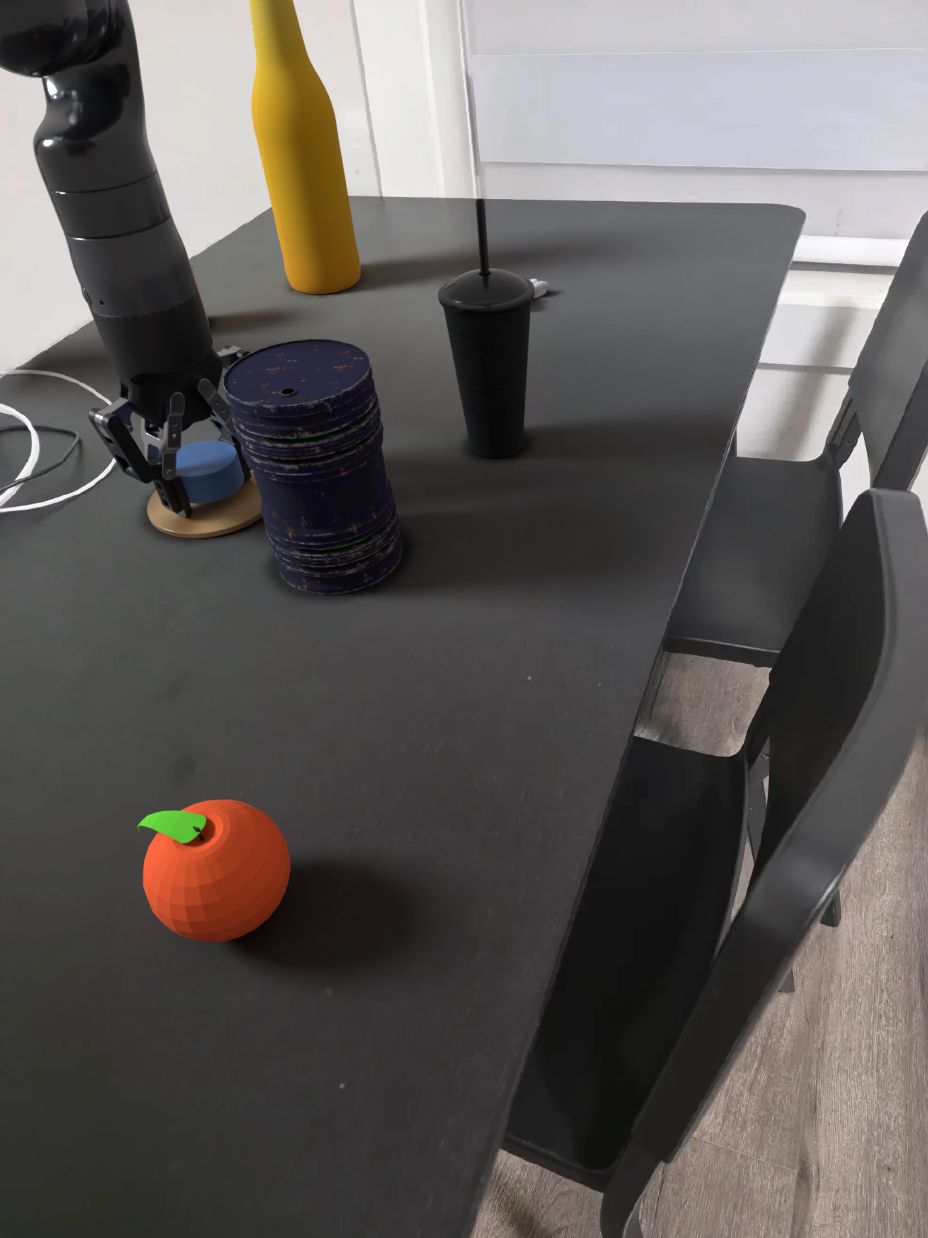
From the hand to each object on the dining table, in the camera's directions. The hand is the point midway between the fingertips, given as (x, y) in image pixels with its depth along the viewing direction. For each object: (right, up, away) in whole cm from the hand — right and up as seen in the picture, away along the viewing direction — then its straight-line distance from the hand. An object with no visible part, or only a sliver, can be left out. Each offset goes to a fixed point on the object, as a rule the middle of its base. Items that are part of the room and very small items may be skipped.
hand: (212, 493), depth 71 cm
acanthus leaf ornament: (+25, +29, +28) cm, 47 cm away
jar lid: (0, +2, -2) cm, 3 cm away
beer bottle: (+2, +34, +35) cm, 49 cm away
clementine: (+10, -28, -27) cm, 40 cm away
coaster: (0, 0, 0) cm, 1 cm away
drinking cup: (+24, +5, +5) cm, 25 cm away
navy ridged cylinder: (+12, -6, -6) cm, 15 cm away
